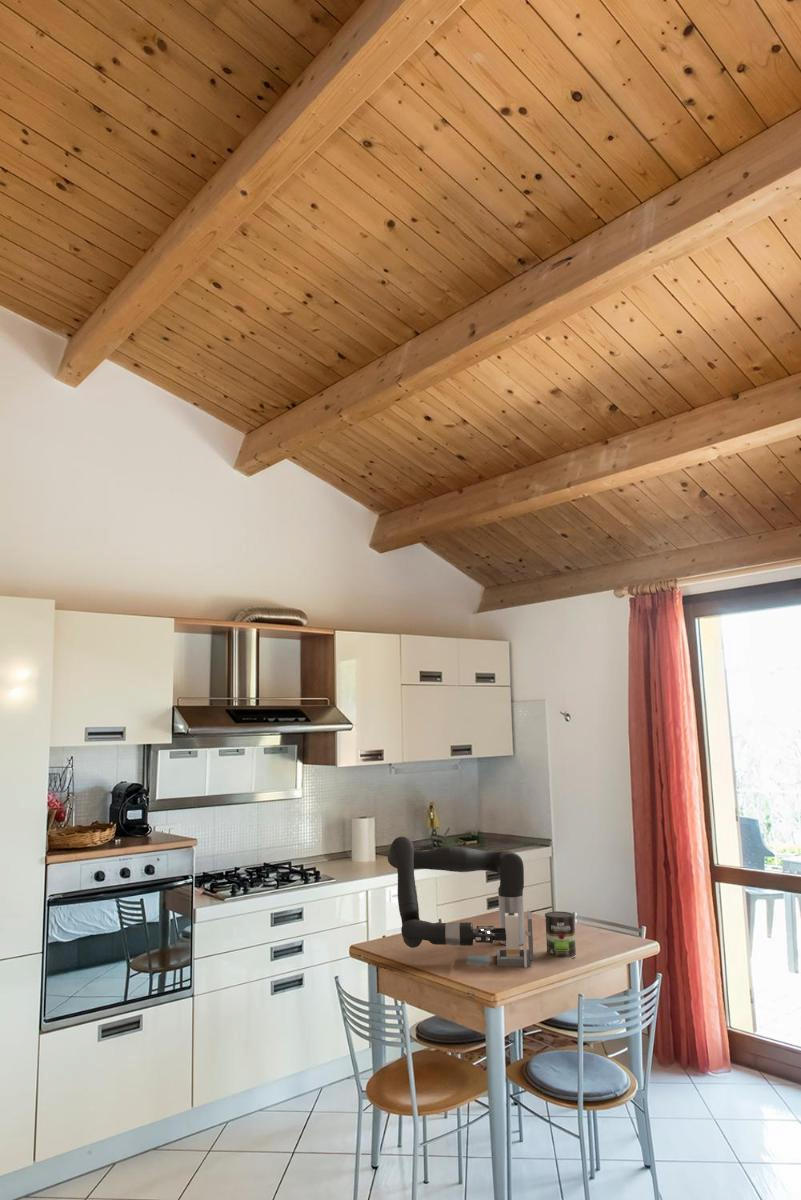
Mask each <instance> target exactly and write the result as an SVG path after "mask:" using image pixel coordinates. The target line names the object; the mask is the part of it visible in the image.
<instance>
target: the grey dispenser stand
mask: <svg viewBox="0 0 801 1200" xmlns="http://www.w3.org/2000/svg"><path fill="white" fill-rule="evenodd" d="M526 916H527V917H526V918H527V919H526V920H527V931H524V932H523V942H524V944H523V949H521V948H520V959H507V955H506V948H505V949H503V948H501V949H500V948H497V949H496V967H524V968H525V969H527V968H528V967H529V968H530V967H531V961H534V960H535V959H534V942H533V941H534V937H533V917H532V911H531V910H526ZM526 938H527V939H526ZM527 941H528V949H527Z"/></svg>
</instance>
